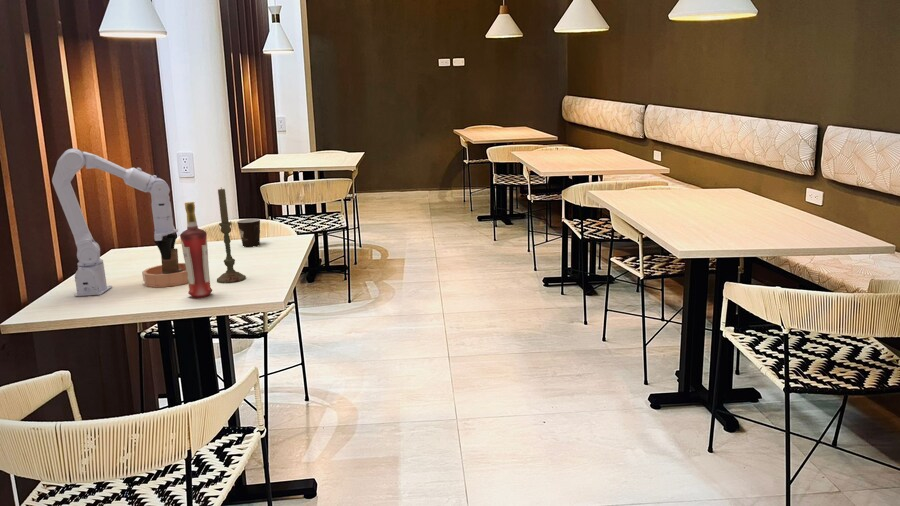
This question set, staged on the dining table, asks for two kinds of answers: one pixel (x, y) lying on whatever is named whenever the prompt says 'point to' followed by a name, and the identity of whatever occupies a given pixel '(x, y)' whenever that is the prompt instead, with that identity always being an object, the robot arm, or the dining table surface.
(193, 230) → the liquor
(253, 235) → the coffee mug
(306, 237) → the dining table surface
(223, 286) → the dining table surface
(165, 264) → the brown rectangular block
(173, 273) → the faceted copper bowl
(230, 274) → the candlestick holder
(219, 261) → the dining table surface
